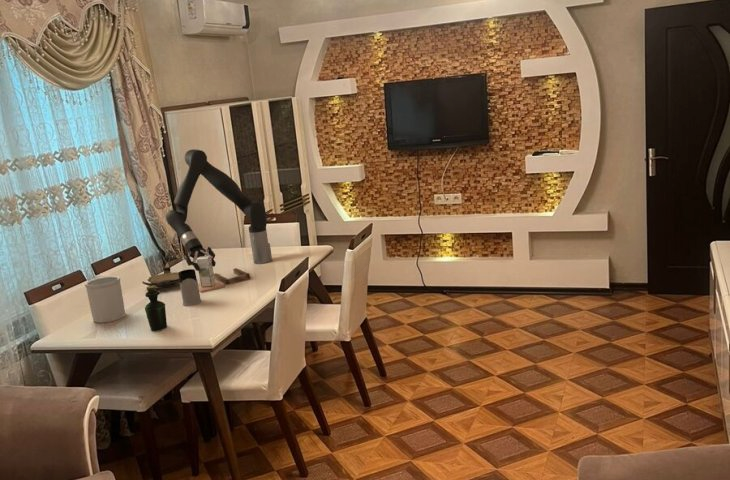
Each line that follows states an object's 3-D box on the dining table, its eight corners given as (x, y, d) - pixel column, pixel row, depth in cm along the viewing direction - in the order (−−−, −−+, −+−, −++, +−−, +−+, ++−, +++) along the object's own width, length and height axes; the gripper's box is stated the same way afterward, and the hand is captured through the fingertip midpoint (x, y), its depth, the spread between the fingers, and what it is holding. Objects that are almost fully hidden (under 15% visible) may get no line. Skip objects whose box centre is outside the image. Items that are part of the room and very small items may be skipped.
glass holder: (182, 307, 322) (176, 275, 319) (181, 299, 335) (176, 268, 332) (202, 303, 324) (196, 271, 321) (200, 295, 337) (195, 265, 334)
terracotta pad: (216, 282, 358) (215, 280, 358) (224, 286, 348) (224, 284, 348) (193, 288, 352) (192, 286, 352) (201, 292, 342) (200, 290, 342)
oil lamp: (135, 295, 353) (132, 280, 351) (162, 277, 382) (159, 263, 380) (177, 292, 349) (175, 277, 347) (201, 274, 377) (198, 260, 376)
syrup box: (215, 283, 353) (211, 254, 349) (212, 286, 347) (207, 257, 344) (204, 284, 353) (199, 255, 350) (200, 287, 347) (195, 258, 344)
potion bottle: (171, 323, 300) (163, 282, 296) (166, 330, 293) (158, 288, 289) (151, 326, 300) (143, 285, 296) (146, 332, 292) (138, 290, 288)
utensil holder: (115, 310, 330) (108, 274, 326) (133, 314, 321) (126, 276, 317) (86, 321, 319) (78, 283, 315) (104, 325, 310) (96, 286, 306)
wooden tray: (236, 272, 372) (235, 268, 371) (250, 278, 357) (249, 274, 356) (213, 278, 366) (212, 273, 365) (226, 285, 351) (225, 280, 350)
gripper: (179, 241, 346) (195, 267, 340) (205, 234, 355) (221, 259, 349) (176, 250, 351) (192, 276, 345) (202, 243, 360) (217, 268, 354)
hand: (206, 267), depth 347 cm, fingers open, 8 cm apart
